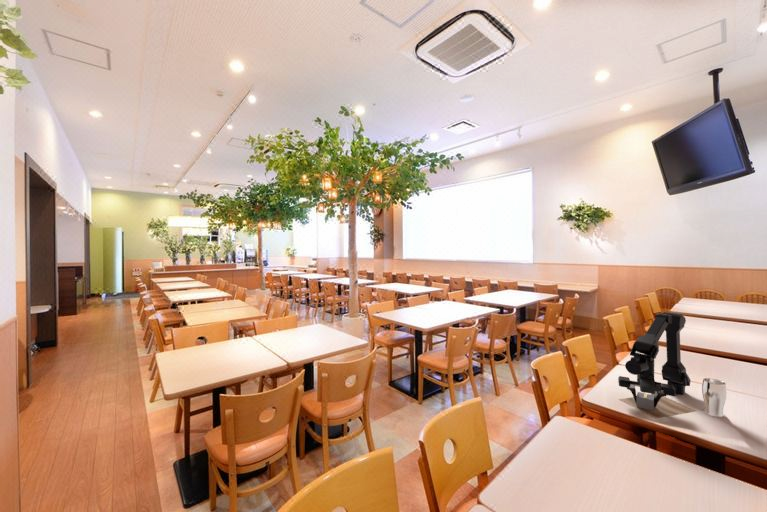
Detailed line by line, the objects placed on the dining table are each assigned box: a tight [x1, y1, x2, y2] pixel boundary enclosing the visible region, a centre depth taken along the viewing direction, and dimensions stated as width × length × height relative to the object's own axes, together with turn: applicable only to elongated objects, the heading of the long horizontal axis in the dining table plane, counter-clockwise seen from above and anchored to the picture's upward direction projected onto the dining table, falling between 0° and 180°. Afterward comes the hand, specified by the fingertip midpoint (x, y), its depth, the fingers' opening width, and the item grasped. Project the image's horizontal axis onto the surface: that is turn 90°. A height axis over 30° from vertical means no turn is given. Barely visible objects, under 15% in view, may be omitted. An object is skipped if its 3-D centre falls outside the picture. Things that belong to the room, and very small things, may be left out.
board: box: [618, 393, 697, 419], centre depth 138 cm, size 22×16×2 cm
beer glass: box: [701, 377, 728, 418], centre depth 130 cm, size 7×7×15 cm
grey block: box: [636, 391, 654, 411], centre depth 137 cm, size 6×6×5 cm
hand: (645, 405), depth 137 cm, fingers closed on grey block, 6 cm apart
